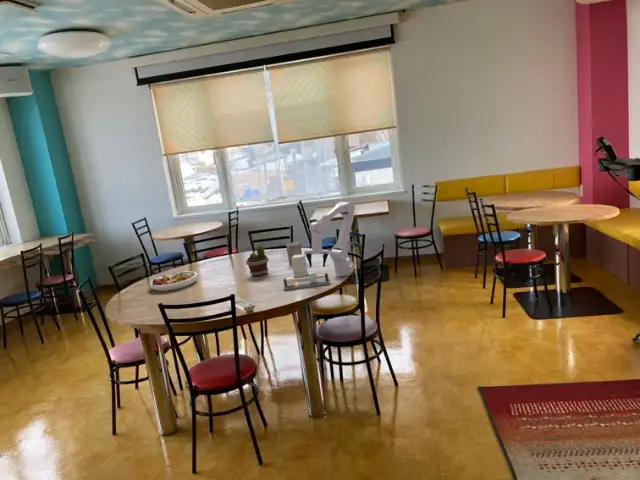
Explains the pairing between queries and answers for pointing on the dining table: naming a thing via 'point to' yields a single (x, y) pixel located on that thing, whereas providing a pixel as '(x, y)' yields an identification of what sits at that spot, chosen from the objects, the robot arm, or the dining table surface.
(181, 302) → the dining table surface
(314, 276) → the sleeve
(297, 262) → the supplement box
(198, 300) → the dining table surface
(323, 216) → the robot arm
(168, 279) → the bowl
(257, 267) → the flowerpot
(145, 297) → the dining table surface
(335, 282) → the dining table surface
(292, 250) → the pillar candle
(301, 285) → the cord board
